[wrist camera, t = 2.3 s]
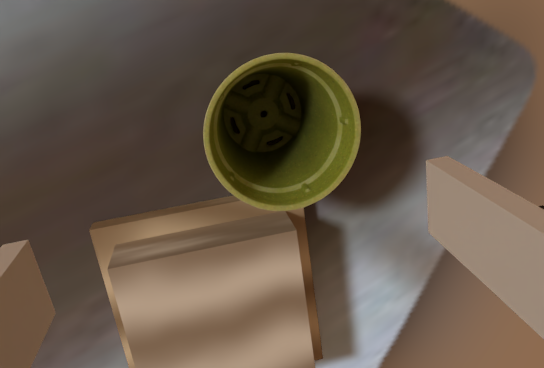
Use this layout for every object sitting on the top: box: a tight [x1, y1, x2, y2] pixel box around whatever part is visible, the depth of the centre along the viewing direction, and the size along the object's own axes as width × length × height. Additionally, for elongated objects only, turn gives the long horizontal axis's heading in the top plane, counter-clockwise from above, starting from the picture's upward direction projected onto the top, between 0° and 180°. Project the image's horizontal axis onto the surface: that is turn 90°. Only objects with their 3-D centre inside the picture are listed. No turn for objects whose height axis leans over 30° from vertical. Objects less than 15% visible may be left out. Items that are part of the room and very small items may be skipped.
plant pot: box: [203, 53, 361, 211], centre depth 32 cm, size 9×9×9 cm
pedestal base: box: [89, 195, 323, 368], centre depth 37 cm, size 16×16×6 cm
